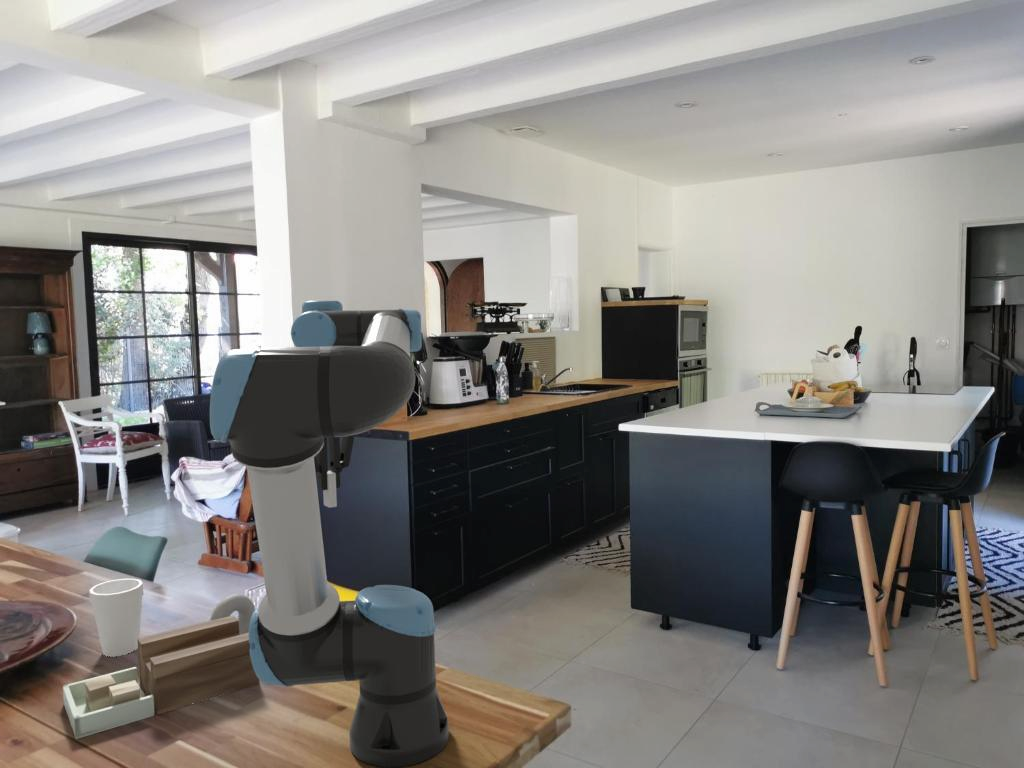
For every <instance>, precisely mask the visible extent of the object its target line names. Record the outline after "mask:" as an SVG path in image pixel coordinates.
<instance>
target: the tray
mask: <svg viewBox="0 0 1024 768" xmlns="http://www.w3.org/2000/svg"><path fill="white" fill-rule="evenodd" d="M137 670H138V668H137V666H133V667H130V668H126V669H121V670H116V671H114V672H109V673H106V674H102V675H98V676H95V677H91V678H87V679H83V680H79V681H76V682H72V683H68V684H63V685H62V696H63V706H64V709H65V711H66V715H67V717H68V720H69V723H70V726H71V729H72V732H73V735H74V738H75V740H77V739H81V738H84V737H87V736H88V737H89V736H91V735H94V734H97V733H100V732H104V731H107V730H111V729H114V728H117V727H121V726H125V725H128V724H131V723H134V722H138V721H141V720H144V719H148V718H150V717H154V715H155V709H154V699H153V695H149V696H147V695H145V692H144V690H143V689H142V687H141V685H140V683H139V682H138V671H137ZM108 675H111V676H112V678H113V679H114V681H115V682H116V685H118V684H122V683H125V682H129V681H133V680H136V682H137V684H138V686H139V688H140V698H139V699H135V700H132V701H128V702H125V703H121V704H118V705H114V706H111V707H107V708H103V709H100V710H96V711H93V712H90V711H89V709H88V707H87V706H86V699H85V684H84V682H87V681H91V680H94V679H98V678H101V677H105V676H108Z"/></svg>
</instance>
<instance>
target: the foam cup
mask: <svg viewBox="0 0 1024 768" xmlns="http://www.w3.org/2000/svg"><path fill="white" fill-rule="evenodd" d="M88 592H89V601H90V605H91V606H92V607H91V608H92V609H93V610H92V611H93V615H94V619H95V623H96V624H95V625H96V629H97V632H98V639H99V643H100V647H101V650H102V654H103V656H104V655H105V656H104V657H107V656H108V658H115V657H116V656H117V657H123V656H126V655H129V654H128V653H130V654H131V652H132V653H133V651H134V650H135V651H136V650H138V648H137V647H138V641H137V638H140V629H141V619H142V607H143V606H142V603H143V596H144V595H145V594H144V583H143V581H142V580H141V579H137V578H118V579H112V580H108V581H104V582H101V583H98V584H96V585H94V586H92V587H91V588H89V591H88ZM135 651H134V652H135ZM122 655H123V656H122ZM109 656H110V657H109Z"/></svg>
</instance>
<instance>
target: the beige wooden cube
mask: <svg viewBox="0 0 1024 768" xmlns="http://www.w3.org/2000/svg"><path fill="white" fill-rule="evenodd" d="M138 684H139V683H138ZM138 684H137V682H136V680H133V681H129V682H125V683H122V684H118V685H114V686H110V687H109V695H110V707H111V706H114V705H118V704H121V703H125V702H128V701H132V700H135V699H139V698H140V688H141V687H140V688H139V686H140V685H139V686H138Z"/></svg>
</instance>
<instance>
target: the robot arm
mask: <svg viewBox="0 0 1024 768" xmlns="http://www.w3.org/2000/svg"><path fill="white" fill-rule="evenodd" d="M290 328H291V329H290V336H291V341H292V342H293V344H294V346H285V347H284V346H283V347H282V346H279V347H277V346H276V347H275V346H274V347H273V346H272V347H262V346H260V345H258V346H256V347H250V348H249V347H248V348H235V349H231V350H228V351H227V352H225V353H224V354H223V355H222V356H221V357H220V359H219V361H218V363H217V366H216V368H215V371H214V375H213V380H212V385H211V392H210V400H209V401H210V402H209V429H210V434H211V435H212V436H213V437H212V438H213V439H214V440H215V441H216V442H221V444H222V443H223V444H225V443H227V442H229V443H230V450H231V455H232V458H233V459H234V460H235V461H236V462H237V463H238V464H240V465H242V466H244V467H245V468H246V471H247V476H248V477H247V478H248V484H249V490H250V498H251V503H252V510H253V515H254V522H255V529H256V533H257V535H256V536H257V542H258V547H259V548H258V549H259V554H260V560H261V567H262V572H263V580H264V587H265V593H266V594H264V596H263V597H262V599H261V600H260V603H259V605H258V607H255V610H254V612H253V614H252V616H251V620H250V625H249V643H250V658H251V662H252V666H253V669H254V671H255V674H256V676H257V677H258V679H259V682H261V683H262V684H264V685H265V686H274V687H275V686H276V687H278V686H279V687H280V686H281V687H283V686H284V687H285V688H286V687H287V688H288V687H294V686H301V685H303V686H305V685H314V684H316V685H317V684H328V683H329V684H330V683H341V682H354V681H356V682H357V681H359V697H358V701H357V704H356V706H355V707H356V708H355V711H354V714H353V718H352V720H351V725H350V728H349V748H350V750H351V753H352V754H353V756H355V757H356V758H357V759H358V760H360V761H361V762H363V763H365V764H369V765H371V766H375V767H383V768H398V767H407V766H411V765H416V764H419V763H422V762H424V761H427V760H429V759H431V758H433V757H434V756H436V755H437V754H439V753H440V752H441V751H442V750H443V749H444V748H445V747H446V745H447V744H448V741H449V738H450V733H449V719H448V716H447V713H446V711H445V707H444V706H443V703H442V700H441V697H440V694H439V692H438V690H437V678H436V677H437V676H436V674H437V673H436V672H437V670H436V668H437V667H436V647H435V646H436V645H435V633H436V627H437V625H436V623H435V615H434V606H433V605H434V604H433V603H432V601H431V599H430V598H429V597H428V596H427V595H426V594H424V592H421V591H419V590H417V589H415V588H411V587H409V586H408V587H407V586H403V585H397V584H394V585H393V584H377V585H374V586H367V587H365V588H363V589H361V590H360V591H358V593H357V595H356V596H355V599H354V600H341V598H340V595H339V591H338V590H337V589H336V587H335V586H334V585H332V584H331V583H330V582H328V579H327V578H328V576H327V568H326V559H325V557H326V556H325V549H324V539H323V531H322V522H321V512H320V511H321V510H320V503H319V492H318V488H319V490H321V491H322V492H323V493H322V494H323V498H322V499H323V506H325V507H327V508H331V509H332V508H336V507H338V500H337V489H339V488H340V487H341V472H342V471H343V469H345V468H349V466H350V462H351V456H352V452H353V446H354V440H355V435H356V436H357V435H359V434H363V433H366V432H368V431H370V430H373V429H375V428H376V427H378V426H380V425H383V424H384V423H386V422H387V421H388V420H391V418H393V417H394V416H396V415H397V414H398V413H399V412H400V411H401V410H402V409H403V408H404V407H405V406H406V405H407V403H408V402H409V401H410V399H411V396H412V395H413V393H414V390H415V385H416V368H415V366H414V362H413V360H412V359H411V357H410V353H413V352H420V351H421V350H422V347H423V346H422V344H423V343H422V315H421V313H420V311H419V310H417V309H405V308H399V309H379V310H378V309H376V310H373V309H372V310H343V304H342V302H341V301H339V300H309V301H308V300H307V301H306V300H305V301H304V302H303V303H302V305H301V314H300V315H299V316H297V317H296V318H295V319H294V321H293V323H292V326H291V327H290ZM340 438H342V441H341V442H340ZM328 457H329V458H328ZM328 459H329V460H328ZM328 461H329V462H328ZM316 473H317V475H316ZM317 479H318V485H317Z"/></svg>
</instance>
